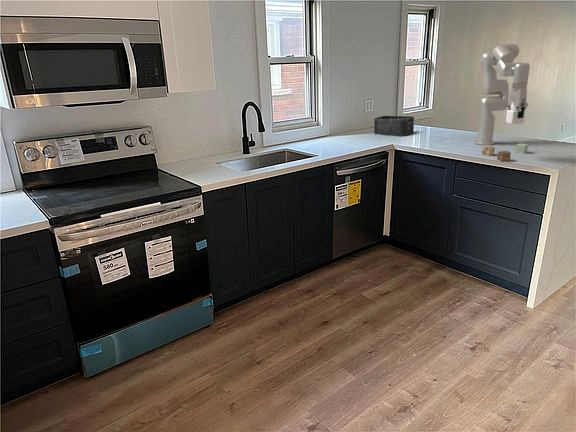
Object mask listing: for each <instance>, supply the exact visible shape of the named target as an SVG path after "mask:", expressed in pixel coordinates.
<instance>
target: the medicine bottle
mask: <svg viewBox="0 0 576 432" xmlns="http://www.w3.org/2000/svg"><path fill="white" fill-rule="evenodd" d="M521 106H522V105H521ZM521 108H522V107H521ZM518 112H519V107H515V106H514V104H513V103H512V105H511V110H509V109H508V110H507V111H506V117H505V123H507V124H510V125H518V124H524V123H525V117H526V110H525V111H524V115H523V118H518Z"/></svg>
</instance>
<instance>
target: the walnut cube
mask: <svg viewBox="0 0 576 432" xmlns="http://www.w3.org/2000/svg"><path fill="white" fill-rule="evenodd" d="M496 160H498V161H499V162H510V161H511V152H510V151H508V150H499V151H497V157H496Z"/></svg>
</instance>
